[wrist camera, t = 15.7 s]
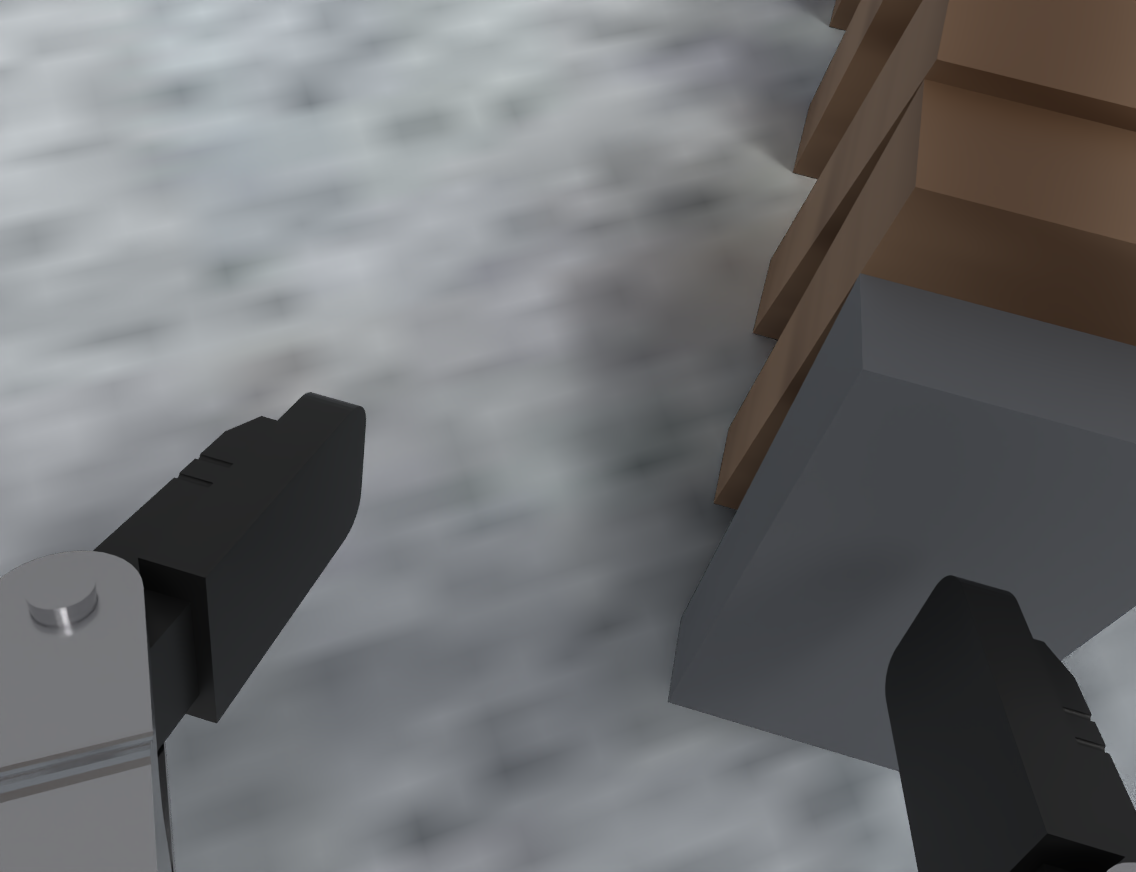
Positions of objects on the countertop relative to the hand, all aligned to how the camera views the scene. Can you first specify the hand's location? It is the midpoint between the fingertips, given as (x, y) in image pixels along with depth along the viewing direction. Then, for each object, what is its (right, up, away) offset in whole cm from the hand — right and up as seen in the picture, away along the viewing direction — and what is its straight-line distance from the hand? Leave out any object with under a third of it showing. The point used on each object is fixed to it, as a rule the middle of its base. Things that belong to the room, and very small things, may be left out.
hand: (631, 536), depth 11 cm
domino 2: (+5, 0, +7) cm, 9 cm away
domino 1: (+4, -4, +6) cm, 8 cm away
